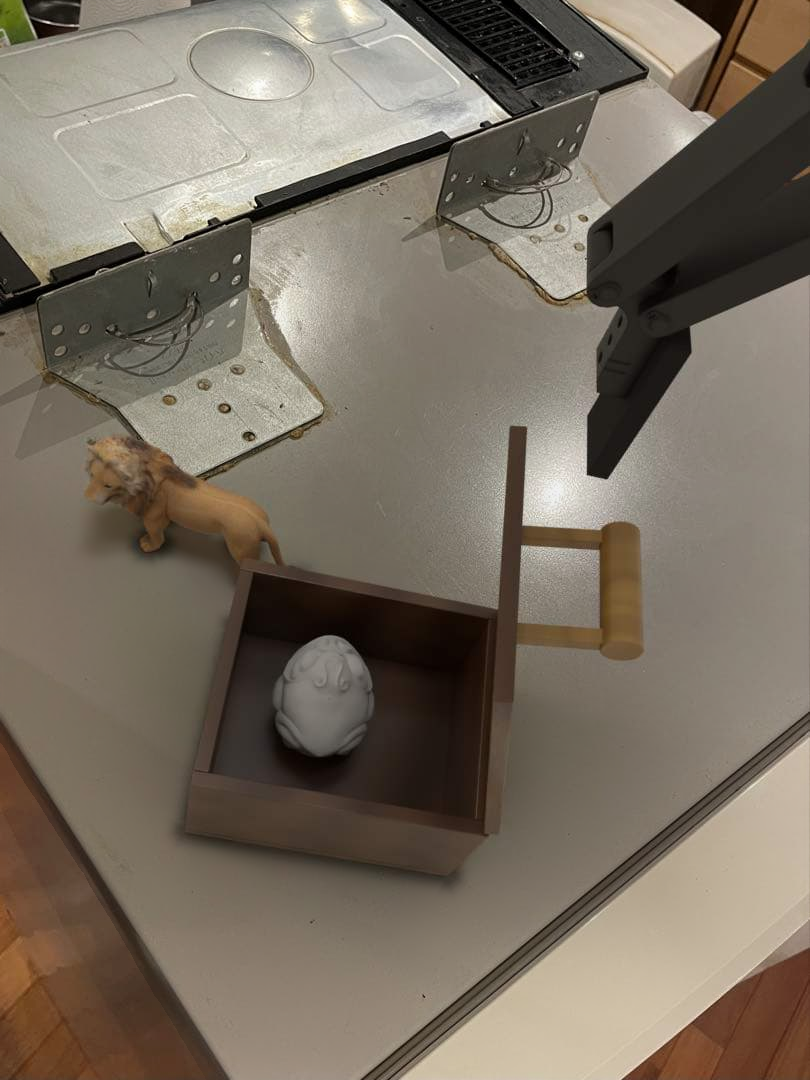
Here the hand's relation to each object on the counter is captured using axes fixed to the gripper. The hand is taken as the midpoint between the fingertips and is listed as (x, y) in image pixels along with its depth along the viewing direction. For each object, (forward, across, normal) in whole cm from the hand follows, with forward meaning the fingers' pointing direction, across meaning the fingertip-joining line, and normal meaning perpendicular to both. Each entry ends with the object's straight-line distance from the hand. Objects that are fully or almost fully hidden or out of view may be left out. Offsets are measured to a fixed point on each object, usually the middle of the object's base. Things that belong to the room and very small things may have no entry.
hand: (769, 486), depth 36 cm
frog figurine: (+32, -12, +1) cm, 34 cm away
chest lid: (+16, -6, 0) cm, 17 cm away
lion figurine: (+33, -23, +12) cm, 42 cm away
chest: (+33, -11, 0) cm, 35 cm away
